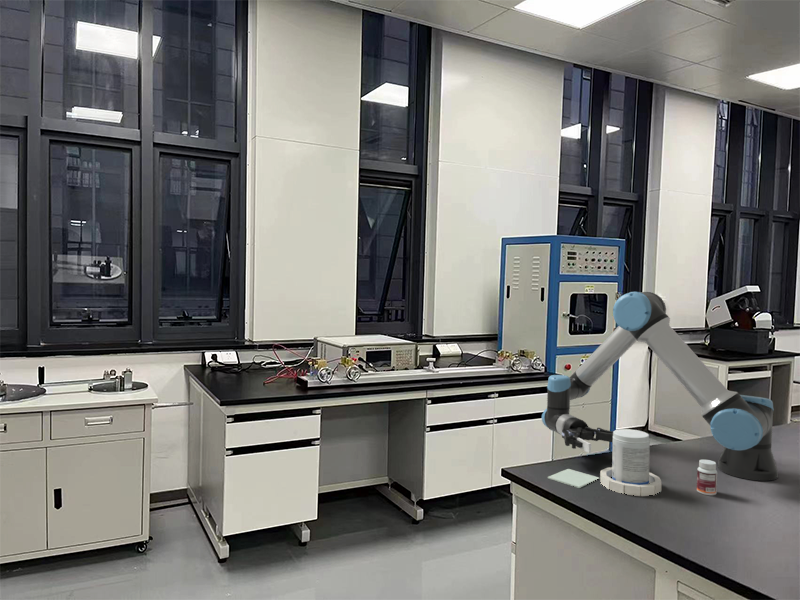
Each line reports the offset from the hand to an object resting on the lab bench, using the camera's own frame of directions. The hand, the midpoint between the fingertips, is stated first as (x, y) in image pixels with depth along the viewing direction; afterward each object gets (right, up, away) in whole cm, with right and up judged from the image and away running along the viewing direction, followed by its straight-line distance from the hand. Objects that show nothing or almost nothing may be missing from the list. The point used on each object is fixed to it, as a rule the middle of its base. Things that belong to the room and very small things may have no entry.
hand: (610, 447), depth 165 cm
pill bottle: (+21, -9, -13) cm, 26 cm away
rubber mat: (-12, -8, -4) cm, 15 cm away
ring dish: (+2, -8, -8) cm, 12 cm away
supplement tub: (+2, -9, -8) cm, 12 cm away
